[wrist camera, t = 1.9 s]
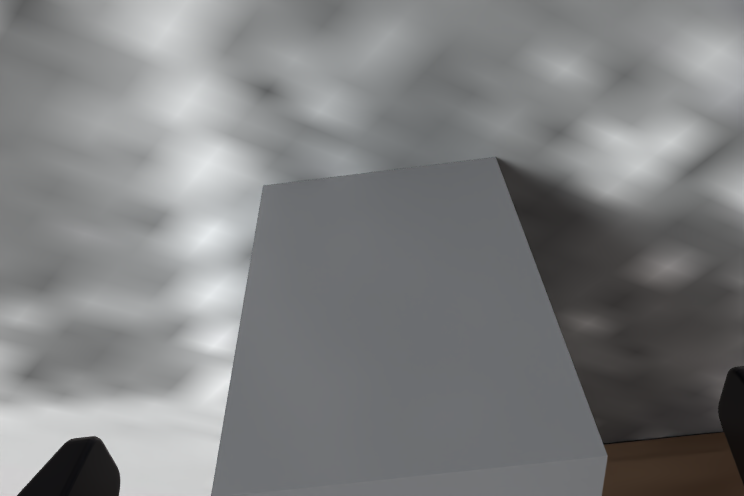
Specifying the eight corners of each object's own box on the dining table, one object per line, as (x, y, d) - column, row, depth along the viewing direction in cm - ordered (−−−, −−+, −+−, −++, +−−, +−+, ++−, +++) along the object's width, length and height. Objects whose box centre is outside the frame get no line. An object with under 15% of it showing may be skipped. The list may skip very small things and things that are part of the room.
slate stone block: (495, 156, 11) (607, 456, 7) (497, 325, 14) (580, 634, 9) (263, 185, 12) (211, 497, 7) (304, 348, 14) (288, 663, 9)
